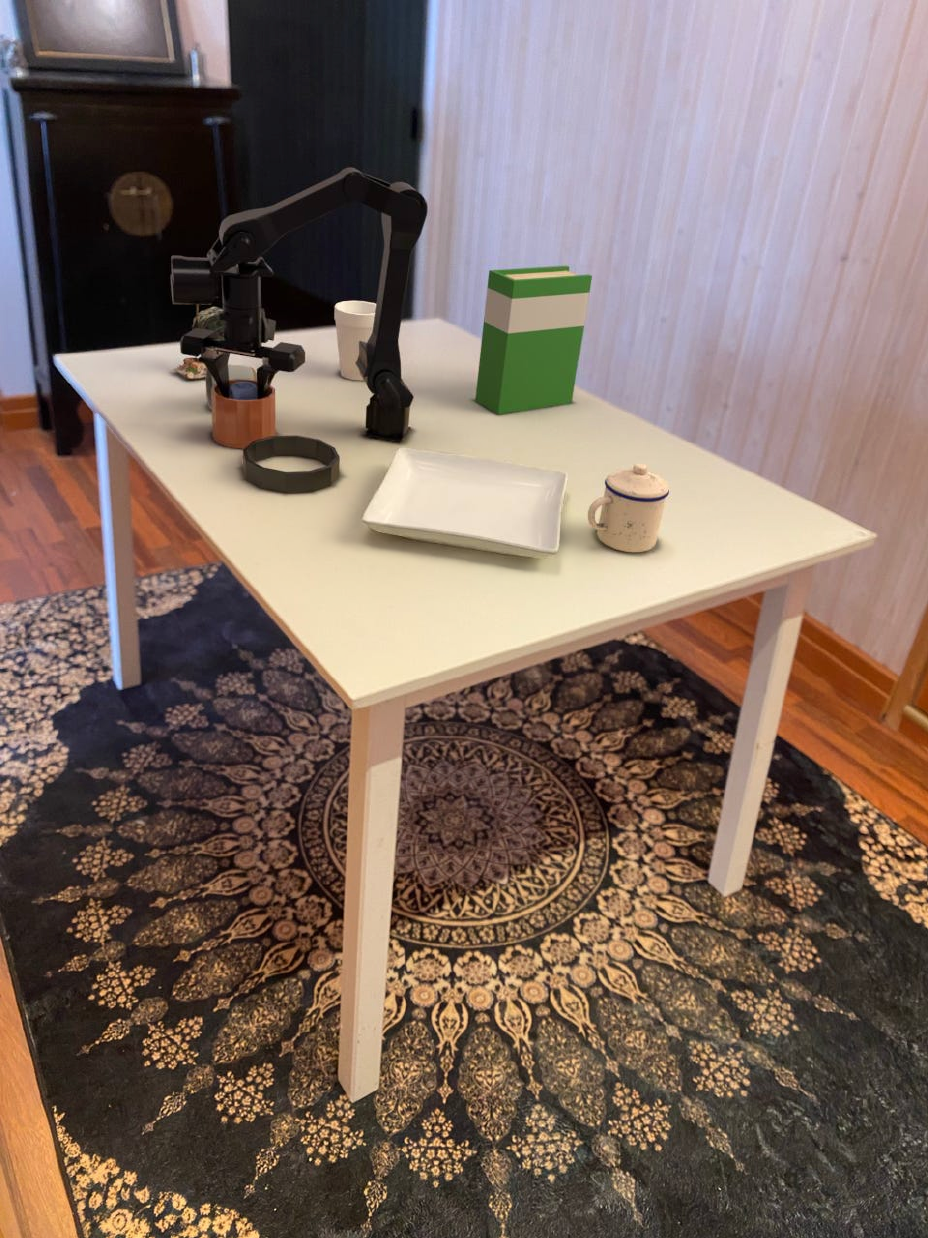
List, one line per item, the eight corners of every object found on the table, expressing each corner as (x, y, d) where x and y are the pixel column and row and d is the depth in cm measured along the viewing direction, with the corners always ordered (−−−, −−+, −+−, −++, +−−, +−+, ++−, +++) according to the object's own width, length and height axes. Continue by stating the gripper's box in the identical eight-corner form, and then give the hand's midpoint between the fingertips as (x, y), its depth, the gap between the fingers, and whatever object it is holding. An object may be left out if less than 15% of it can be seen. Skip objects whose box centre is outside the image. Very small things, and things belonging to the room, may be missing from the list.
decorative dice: (228, 405, 164) (228, 382, 162) (253, 404, 165) (252, 380, 163) (235, 414, 161) (234, 390, 159) (259, 413, 162) (259, 389, 160)
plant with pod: (240, 376, 190) (238, 266, 179) (182, 383, 183) (177, 270, 173) (222, 362, 195) (219, 255, 184) (165, 369, 189) (159, 258, 178)
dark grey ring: (349, 463, 160) (350, 445, 159) (319, 499, 149) (319, 479, 147) (265, 448, 162) (265, 429, 161) (228, 482, 151) (228, 462, 149)
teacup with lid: (633, 521, 153) (648, 449, 146) (669, 549, 146) (686, 475, 140) (566, 531, 147) (579, 457, 141) (600, 561, 141) (615, 484, 135)
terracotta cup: (284, 431, 169) (284, 385, 165) (261, 453, 161) (260, 405, 156) (228, 421, 170) (227, 375, 166) (202, 442, 162) (200, 394, 158)
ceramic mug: (260, 413, 174) (260, 370, 170) (213, 416, 171) (211, 371, 167) (247, 393, 183) (246, 351, 179) (201, 395, 180) (199, 352, 176)
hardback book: (548, 390, 200) (566, 265, 187) (571, 402, 195) (592, 275, 182) (475, 400, 191) (489, 270, 178) (498, 414, 186) (514, 281, 173)
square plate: (358, 543, 138) (359, 518, 136) (397, 466, 161) (399, 443, 159) (554, 573, 136) (558, 548, 134) (565, 491, 160) (569, 468, 158)
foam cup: (325, 377, 194) (326, 308, 187) (343, 363, 201) (346, 297, 194) (371, 386, 192) (374, 317, 185) (388, 372, 199) (392, 306, 192)
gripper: (318, 301, 160) (316, 395, 168) (207, 283, 162) (211, 377, 171) (292, 318, 150) (292, 418, 159) (175, 299, 153) (181, 398, 161)
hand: (244, 402), depth 162 cm, fingers open, 5 cm apart
